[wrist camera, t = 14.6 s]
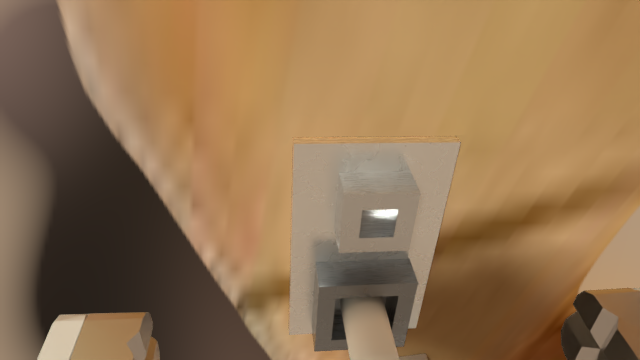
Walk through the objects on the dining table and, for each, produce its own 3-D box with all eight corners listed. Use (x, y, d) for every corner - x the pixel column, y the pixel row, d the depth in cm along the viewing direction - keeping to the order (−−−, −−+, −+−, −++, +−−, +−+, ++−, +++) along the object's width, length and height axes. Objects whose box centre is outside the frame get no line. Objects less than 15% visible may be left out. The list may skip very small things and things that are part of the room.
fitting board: (456, 136, 40) (474, 163, 37) (413, 320, 52) (423, 352, 49) (293, 137, 38) (296, 165, 35) (288, 326, 51) (290, 360, 48)
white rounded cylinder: (382, 277, 47) (403, 349, 40) (377, 306, 49) (396, 379, 43) (340, 279, 46) (354, 352, 40) (337, 308, 49) (349, 382, 42)
